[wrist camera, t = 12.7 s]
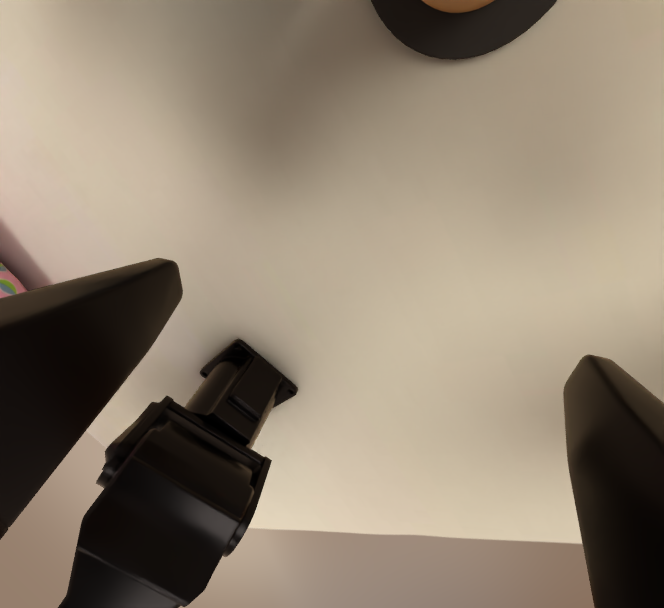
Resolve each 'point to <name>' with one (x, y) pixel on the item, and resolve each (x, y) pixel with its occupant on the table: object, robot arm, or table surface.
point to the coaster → (459, 25)
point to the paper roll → (457, 5)
